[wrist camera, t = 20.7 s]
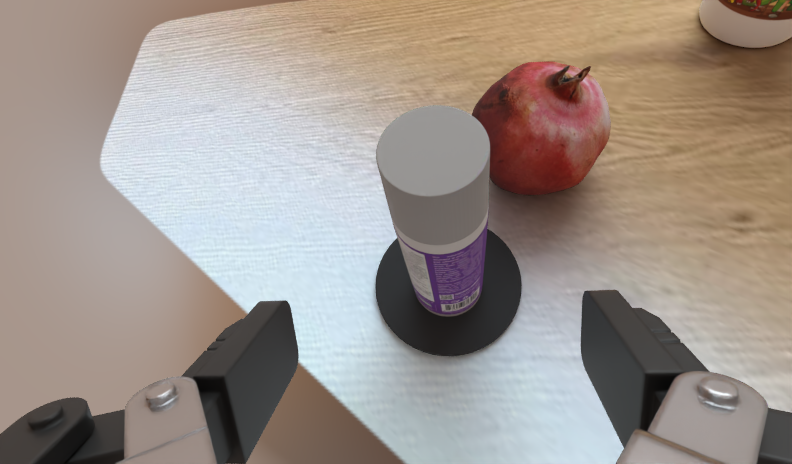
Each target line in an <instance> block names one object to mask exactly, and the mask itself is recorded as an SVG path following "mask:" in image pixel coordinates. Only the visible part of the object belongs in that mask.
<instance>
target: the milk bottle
mask: <svg viewBox="0 0 792 464" xmlns="http://www.w3.org/2000/svg"><path fill="white" fill-rule="evenodd" d="M699 17H700V21H701V23H702V25H703V27H704V28H705V29H706V30H707V31H708V32H709V33H710V34H711V35H713V36H714V37H715V38H717V39H719V40H721V41H723V42H726V43H729V44H732V45H736V46H741V47H750V48H762V47H768V46H773V45H776V44H780V43H782V42H784V41H786V40H788V39H789V38H791V37H792V0H702V2H701V4H700V9H699Z"/></svg>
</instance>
